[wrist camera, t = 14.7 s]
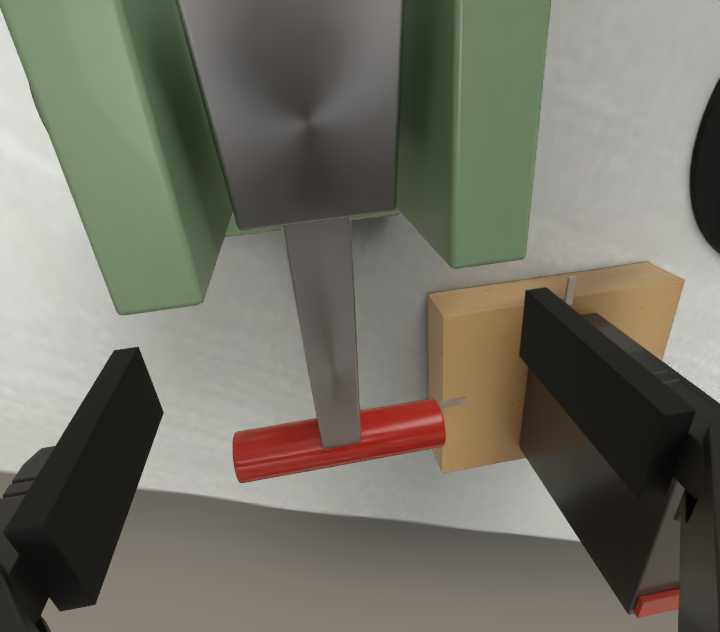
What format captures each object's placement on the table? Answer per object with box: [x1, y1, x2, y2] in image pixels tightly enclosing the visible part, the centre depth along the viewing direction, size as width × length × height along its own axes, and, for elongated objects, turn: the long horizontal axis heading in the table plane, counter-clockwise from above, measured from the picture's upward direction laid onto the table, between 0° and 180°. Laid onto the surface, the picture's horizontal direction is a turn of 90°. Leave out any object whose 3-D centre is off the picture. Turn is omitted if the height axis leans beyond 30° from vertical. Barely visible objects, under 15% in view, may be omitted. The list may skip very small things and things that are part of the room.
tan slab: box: [428, 262, 685, 473], centre depth 24 cm, size 12×12×3 cm
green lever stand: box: [0, 0, 551, 315], centre depth 11 cm, size 11×8×15 cm
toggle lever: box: [175, 0, 446, 483], centre depth 9 cm, size 12×6×2 cm, turn 5°
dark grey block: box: [519, 313, 720, 618], centre depth 19 cm, size 8×3×9 cm, turn 5°
